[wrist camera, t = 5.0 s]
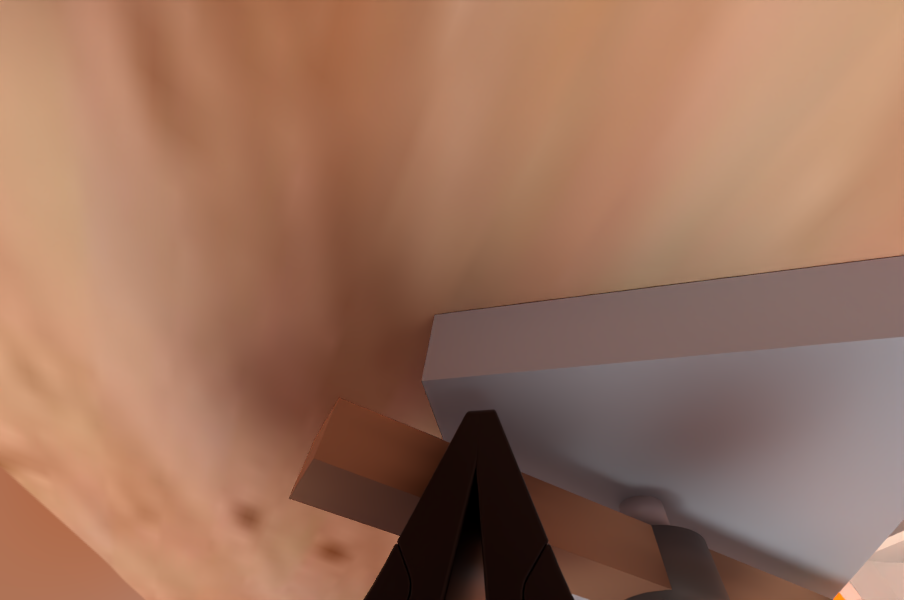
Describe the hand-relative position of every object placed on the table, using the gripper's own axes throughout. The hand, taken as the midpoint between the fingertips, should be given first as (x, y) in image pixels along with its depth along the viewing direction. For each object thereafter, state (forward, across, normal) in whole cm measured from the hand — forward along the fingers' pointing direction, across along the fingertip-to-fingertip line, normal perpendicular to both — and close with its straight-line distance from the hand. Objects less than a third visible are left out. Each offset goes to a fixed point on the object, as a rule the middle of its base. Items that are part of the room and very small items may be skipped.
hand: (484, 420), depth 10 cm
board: (+4, -5, +8) cm, 10 cm away
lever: (0, -4, +6) cm, 8 cm away
